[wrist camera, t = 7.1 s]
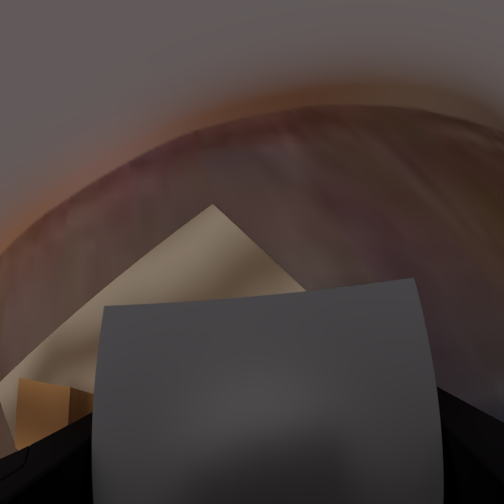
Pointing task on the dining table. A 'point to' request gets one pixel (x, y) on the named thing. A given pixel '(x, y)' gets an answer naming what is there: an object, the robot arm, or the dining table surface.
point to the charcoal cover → (268, 400)
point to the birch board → (153, 298)
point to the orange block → (47, 409)
